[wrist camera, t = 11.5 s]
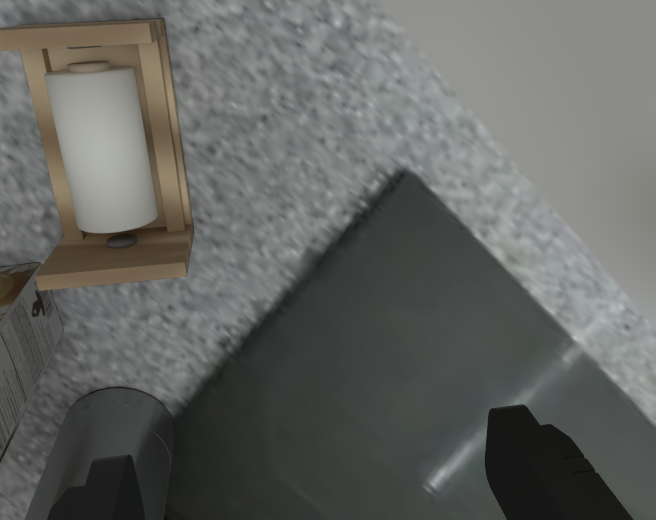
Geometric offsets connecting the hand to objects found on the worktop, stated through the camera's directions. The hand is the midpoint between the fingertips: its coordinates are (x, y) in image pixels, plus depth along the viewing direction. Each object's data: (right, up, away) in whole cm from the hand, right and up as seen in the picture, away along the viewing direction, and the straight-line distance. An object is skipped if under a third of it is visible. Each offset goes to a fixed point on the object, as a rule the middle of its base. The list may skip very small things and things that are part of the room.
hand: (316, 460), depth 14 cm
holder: (-15, +13, +28) cm, 35 cm away
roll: (-14, +12, +25) cm, 31 cm away
